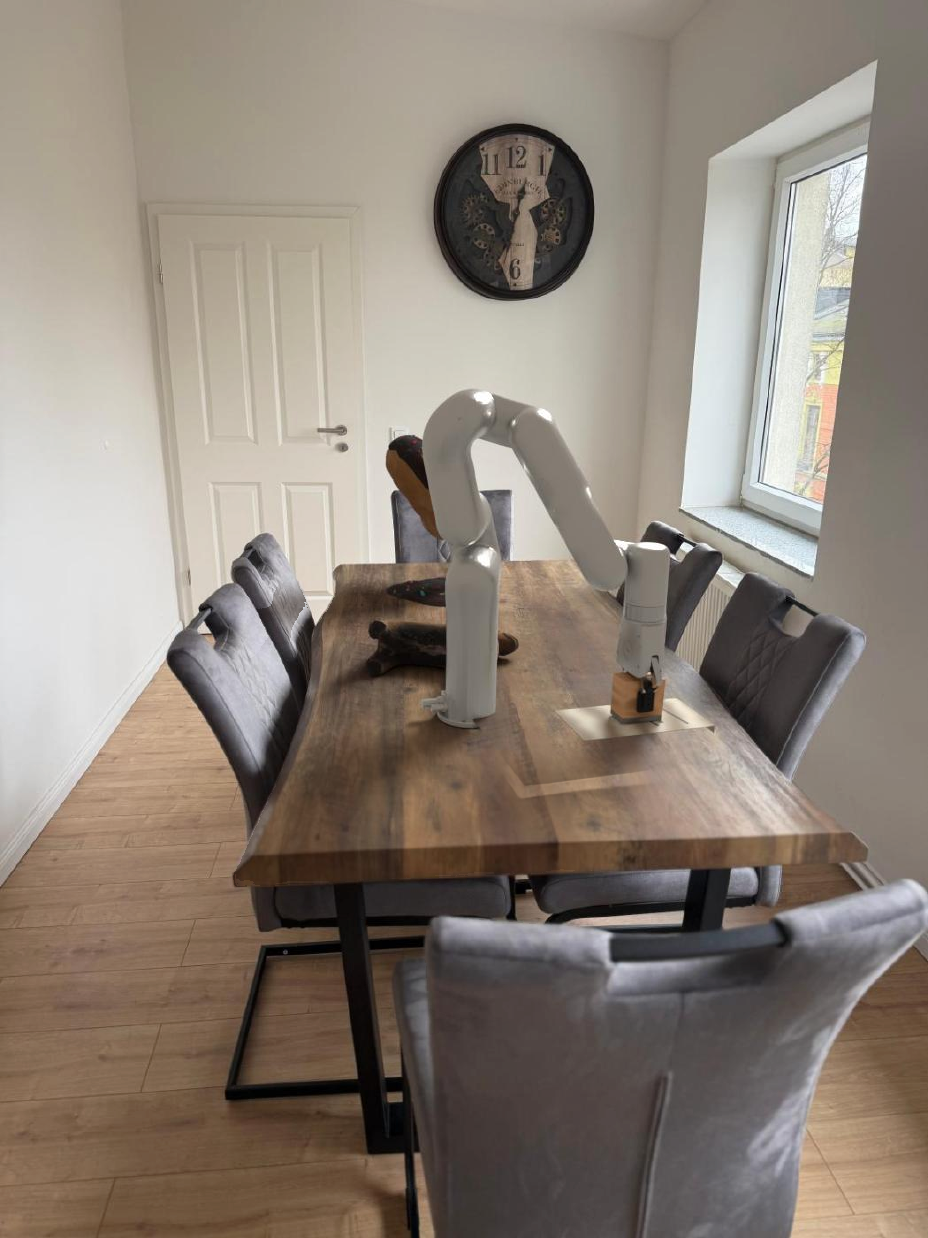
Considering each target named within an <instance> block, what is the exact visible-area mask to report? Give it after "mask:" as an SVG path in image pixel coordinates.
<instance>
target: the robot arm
mask: <svg viewBox="0 0 928 1238" xmlns="http://www.w3.org/2000/svg"><path fill="white" fill-rule="evenodd" d="M477 439H480V440H482V441H486V442H489V443H491V444H495V445H499V446H502V447H505V448H509V449H512V451H513V453H514V455H515V457H516V458H517V461H518V462H519V464H520V466H521V468H522V469H523V471H524V472H525V474H526V476H527V477H528V479H529V481H530V483H531V484H532V486H533V489H534V491H536V494H537V496H538V497H539V499H540V501H541V502H542V504H543V505H544V508H545V510H546V512H547V514H548V516H549V518H550V519H551V521H552V522H553V524H554V526H555V527H556V529H557V530H558V533H559V534H560V537H561V538H562V541H563V543H564V544H565V546H566V548H567V550H568V552H569V553H570V555H571V556H572V559H573V560H574V561H575V563H576V565H577V567H578V569H579V571H580V572H581V575H582V576H583V577H584V579H585V581H586V582H587V583H588V585H590V587H592V588H593V589H595V590H598V591H601V592H611V591H615V590H617V589H618V588H620V587H621V586H622V585H623V584H624V596H623V597H624V598H623V608H622V609H623V610H622V617H621V620H620V621H621V622H620V625H619V629H618V630H619V631H618V638H617V645H616V646H617V647H616V658H615V659H616V663H617V664H618V665H619V666H620V667H621V668H622V670H623V672H629V673H631V674H632V675H633V676H635V677H636V678H639V681H640V691H639V692H638V696H637V712H638V713H644V712H652V711H653V710H654V698H655V692H656V691H657V688H658V686H659V685H661V684H662V683H663V679H662V677H663V675H662V674H663V670H664V663H665V662H664V661H665V647H664V624H663V623H664V622H665V616H667V601H668V599H667V598H668V589H669V579H670V578H669V577H670V576H669V575H670V564H671V551H670V549H669V547H668V546H666V545H665V544H662V543H658V542H651V541H650V542H649V541H643V542H636V543H635V542H628V541H621V540H617V539H616V540H615V539H614V537H613V535H612V534H611V532H610V531H609V528H608V527H607V525H606V523H605V520H604V519H603V517H602V515H601V513H600V511H599V508H598V506H597V504H596V501H595V497H594V494H593V492H592V489H591V487H590V485H589V483H588V479H586V477H585V474H584V472H582V469H581V468H580V466H579V464H578V463H577V461H576V459H575V458H574V456H573V454H572V452H571V450H570V448H569V447H568V445H567V443H566V441H565V440H564V438H563V435H562V434H561V432H560V431H559V428H558V427H557V424H556V421H555V419H554V417H553V416H552V414H551V413H550V412H549V411H547V410H545V409H544V408H541V407H539V406H534V405H531V404H527V403H524V402H520V401H517V400H514V399H511V398H508V397H504V396H501V395H498V394H495V393H492V392H489V391H486V390H483V389H479V388H468V389H462V390H459V391H457V392H455V393H453V394H452V395H451V396H449V397H447V398H446V399H445V400H444V401H443V402H442V403H440V405H439V406H438V407H436V409H435V410H434V411H433V412H432V414H431V415H430V417H429V419H428V421H427V423H426V424H425V426H424V430H423V435H422V451H423V459H424V465H425V470H426V475H427V480H428V485H429V491H430V496H431V500H432V505H433V510H434V515H435V521H436V527H437V530H438V533H439V534H440V536H441V537H442V539H443V540H442V541H444V542H445V543H446V544H447V545H448V546H447V547H448V551H449V555H450V559H451V563H450V565H449V567H448V570H447V573H446V582H445V599H446V607H445V613H446V614H445V615H446V617H445V618H446V620H445V621H446V623H445V624H446V668H445V690H443V689H442V690H441V695H437V696H436V697H426V698H421V699H420V707H421V709H422V710H424V709H430V711H431V712H433V713H434V712H437V713H436V714H437V718H438V719H439V720H440V721H442V722H443V723H444V724H447V725H449V726H452V727H456V728H464V729H465V728H466V729H480V726H479V725H478V723H477V722H476V721H475V719H483V718H487V717H489V716H492V715H493V714H495V712H496V707H497V706H496V705H497V704H496V703H497V701H496V700H497V672H498V671H497V669H498V668H497V667H498V665H497V663H498V658H497V639H498V630H499V592H500V584H501V583H500V582H501V577H502V573H503V561H502V556H501V555H502V554H501V551H500V546H499V541H498V536H497V531H496V527H495V523H494V522H495V521H494V517H493V512H492V509H491V505H490V503H489V501H488V500H487V498H486V496H485V495H484V494H482V492H480V490H479V486H478V482H477V478H476V477H477V476H476V471H475V466H474V463H473V459H472V458H473V457H472V454H471V453H472V446H473V443H474V442H475V441H476V440H477ZM648 672H651V675H647V673H648ZM645 679H650V682H647V684H646V685H645Z"/></svg>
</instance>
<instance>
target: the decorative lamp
mask: <svg viewBox="0 0 928 1238" xmlns="http://www.w3.org/2000/svg"><path fill="white" fill-rule="evenodd" d="M422 440H423V438H421V437H419V436H416V434H403V435H400V436H397V437H396V438H394V439H393V440H392V441H391V442H390V443H389V444H388V446H387V448H388V449H387V451H386V453H385V468H386V471H387V472H388V474H389V476H390V478H391V479H392V480H393V483H394V485H395V487H396V488H397V490H399V492H400V493H401V494H402V495H403V496H404V497H405V498H406V499H407V501H408V503H409V504H410V506H411V508H412V509H413V511H414V512H415V513H416V514H417V515H418V516H419V519H420V521H421V524H422V526H423V528H424V529H425V530H426V531H427V532H428V533H429V534H430V535H431V536H432V537H434V538H435V539H438V540H440V541H444V540H443V539H442V537H441V536H440V534H439V533H438V530H437V527H436V521H435V515H434V510H433V505H432V500H431V496H430V491H429V485H428V480H427V475H426V470H425V465H424V459H423V451H422ZM445 582H446V577H440V576H438V577H436V578H435V577H434V578H425V579H421V580H413V579H412V580H407V581H404V582H400V583H397V584H392V585H390V586H389V587H387V588H386V594H387V595H390V596H394V597H397V598H399V599H402V600H403V599H404V600H407V601H410V602H416V603H419V604H422V605H427V606H430V607H439V608H442V607H443V608H446V599H445Z"/></svg>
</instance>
